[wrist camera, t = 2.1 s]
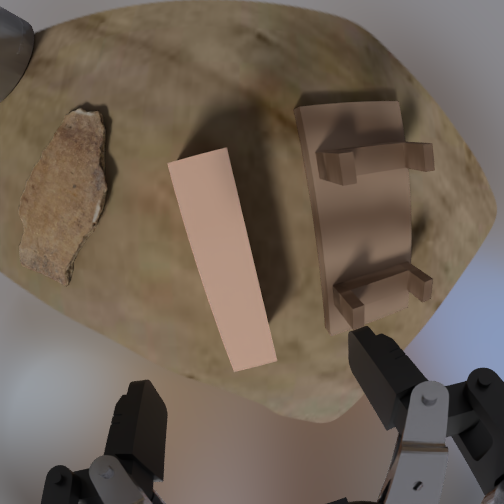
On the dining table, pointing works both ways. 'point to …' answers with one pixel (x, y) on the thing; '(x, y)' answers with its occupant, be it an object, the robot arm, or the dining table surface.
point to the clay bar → (223, 255)
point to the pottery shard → (64, 196)
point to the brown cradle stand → (362, 208)
